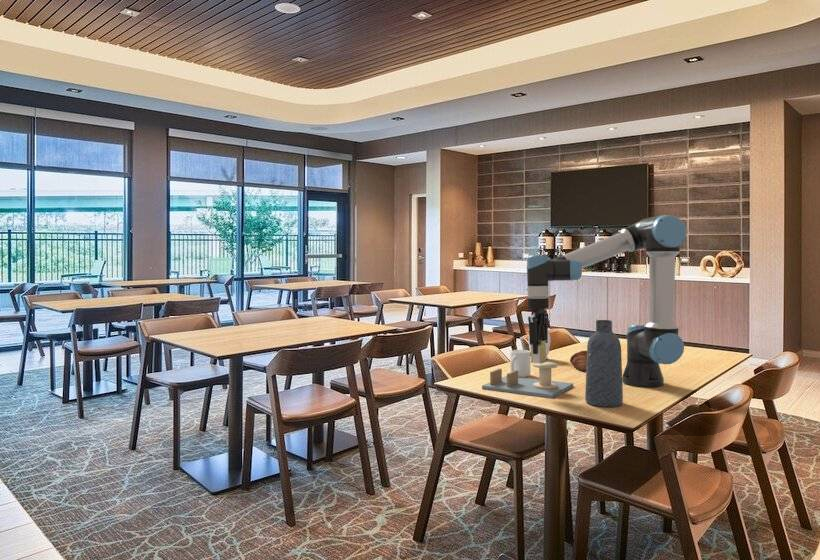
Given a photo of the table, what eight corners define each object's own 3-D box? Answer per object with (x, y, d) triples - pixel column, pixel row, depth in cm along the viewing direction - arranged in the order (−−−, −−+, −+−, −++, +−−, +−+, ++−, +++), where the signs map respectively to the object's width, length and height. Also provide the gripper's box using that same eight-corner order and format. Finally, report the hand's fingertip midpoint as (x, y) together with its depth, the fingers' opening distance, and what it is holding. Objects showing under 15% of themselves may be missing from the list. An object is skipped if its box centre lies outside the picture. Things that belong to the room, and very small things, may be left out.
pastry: (612, 370, 255) (612, 352, 254) (583, 373, 250) (583, 354, 249) (589, 364, 270) (589, 347, 270) (560, 366, 265) (560, 349, 265)
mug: (520, 379, 236) (519, 354, 236) (502, 377, 241) (502, 352, 241) (533, 375, 245) (533, 350, 245) (516, 372, 251) (516, 349, 250)
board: (573, 386, 223) (573, 361, 223) (552, 398, 205) (552, 370, 204) (506, 378, 239) (506, 354, 238) (482, 388, 221) (481, 363, 220)
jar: (524, 358, 287) (524, 328, 286) (543, 356, 290) (543, 327, 289) (535, 361, 277) (535, 330, 276) (554, 360, 280) (554, 329, 279)
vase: (608, 409, 189) (608, 323, 188) (577, 402, 198) (577, 320, 197) (630, 403, 196) (630, 320, 195) (599, 397, 206) (599, 318, 205)
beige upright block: (545, 361, 211) (545, 340, 211) (541, 363, 208) (541, 341, 207) (535, 361, 213) (535, 339, 213) (531, 362, 210) (530, 340, 210)
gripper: (537, 295, 218) (538, 357, 219) (518, 299, 204) (519, 364, 205) (556, 296, 214) (557, 358, 215) (538, 299, 200) (539, 366, 201)
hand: (539, 361), depth 210 cm, fingers closed on beige upright block, 4 cm apart
